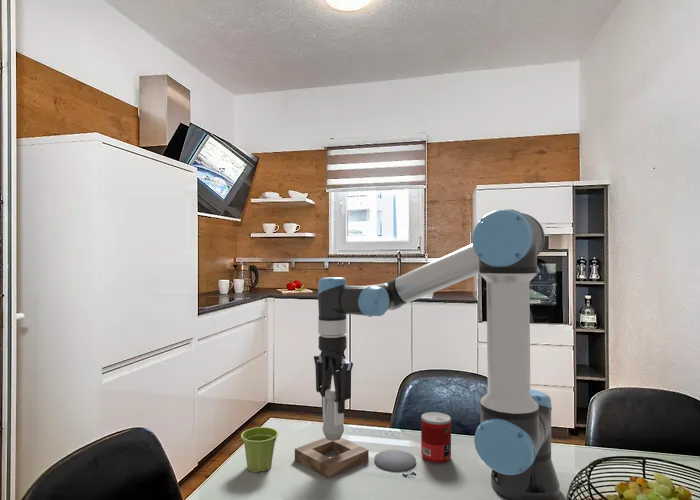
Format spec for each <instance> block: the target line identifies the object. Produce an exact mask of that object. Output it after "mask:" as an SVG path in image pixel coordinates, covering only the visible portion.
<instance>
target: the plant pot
mask: <svg viewBox="0 0 700 500" xmlns="http://www.w3.org/2000/svg"><path fill="white" fill-rule="evenodd" d="M278 435H279V431H278V430H277V429H275V428H273V427H266V426H258V427H257V426H256V427H252V428H248V429H246V430H244V431H243V432H242V433H241V434H240V438H241V440H242V442H243V445H244V451H245V458H246V459H245V460H246V468H247V470H248V471H249V472H253V473H259V472H266V471H268V470H270V469H271V468H272V463H273V459H274V458H273V456H274V449H275V444H276V441H277V437H278Z"/></svg>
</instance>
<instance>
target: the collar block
mask: <svg viewBox="0 0 700 500" xmlns="http://www.w3.org/2000/svg"><path fill="white" fill-rule="evenodd" d="M334 452H335V454H336V455H334V456H332V457H329V456H327V455H328V454H330V453H334ZM369 458H370V457H369V449H367V448H366V447H363V446H361V445H359V444H357V443H355V442H352V441H350V440H348V439H345V438H343V437H341V438H340V440H336V441H331V440H327V438H326V436H324V437H322V438H321V439H318V440H314V441H312V442H310V443H306V444H304V445H301V446H298V447H296V448H294V461H296V462H298V463H299V464H301V465H303V466H304V467H307V468H309V470H312V471H314V472H316V473H317V474H319V475H321V476H323V477H325V479H328V480H330V479H331V478H334V477H336V476H338V475H341V474H343V473H345V472H348V471H349V470H353V469H354V468H356V467H359V466H360V465H363V464H365V463H367V462H369Z"/></svg>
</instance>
